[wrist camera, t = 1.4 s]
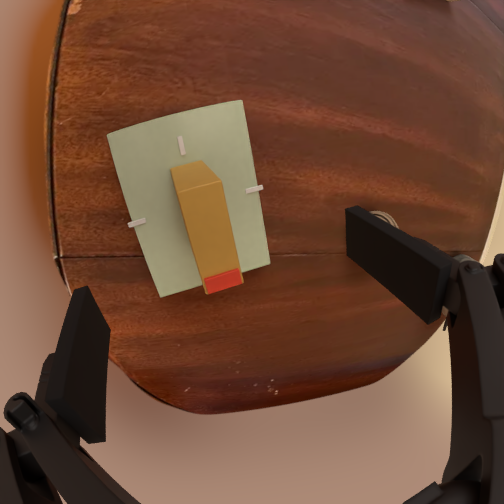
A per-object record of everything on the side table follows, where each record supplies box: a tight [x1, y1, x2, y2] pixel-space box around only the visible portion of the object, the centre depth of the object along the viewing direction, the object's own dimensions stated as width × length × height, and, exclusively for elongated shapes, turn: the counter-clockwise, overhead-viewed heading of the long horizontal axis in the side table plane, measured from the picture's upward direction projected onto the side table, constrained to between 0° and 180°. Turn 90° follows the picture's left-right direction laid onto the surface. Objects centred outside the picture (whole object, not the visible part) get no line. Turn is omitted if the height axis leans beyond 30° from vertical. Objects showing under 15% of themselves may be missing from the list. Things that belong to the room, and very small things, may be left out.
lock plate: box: [107, 100, 270, 297], centre depth 24 cm, size 14×11×3 cm
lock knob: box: [170, 160, 244, 294], centre depth 20 cm, size 6×2×7 cm, turn 10°
